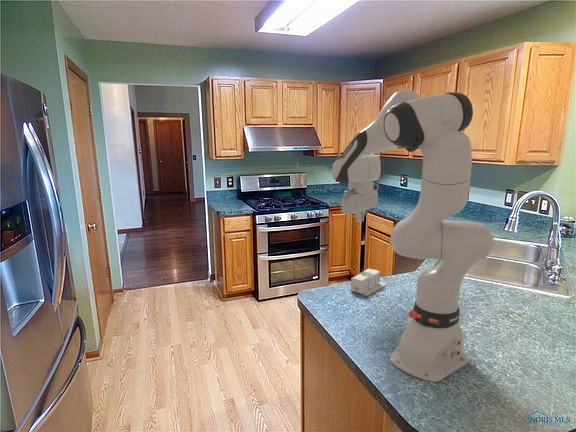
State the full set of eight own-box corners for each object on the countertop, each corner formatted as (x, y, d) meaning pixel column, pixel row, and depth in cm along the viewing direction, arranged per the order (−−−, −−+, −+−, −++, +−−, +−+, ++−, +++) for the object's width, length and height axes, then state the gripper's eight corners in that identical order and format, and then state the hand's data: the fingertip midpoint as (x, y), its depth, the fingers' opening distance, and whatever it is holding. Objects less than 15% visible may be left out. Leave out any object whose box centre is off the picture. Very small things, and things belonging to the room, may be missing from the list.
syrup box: (362, 294, 139) (380, 283, 149) (362, 281, 138) (380, 270, 148) (350, 290, 143) (368, 280, 153) (350, 277, 142) (368, 267, 152)
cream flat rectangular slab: (367, 295, 138) (367, 294, 138) (349, 289, 145) (349, 288, 145) (387, 284, 148) (387, 283, 148) (369, 279, 155) (369, 278, 155)
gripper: (350, 191, 125) (351, 228, 128) (380, 184, 139) (380, 217, 142) (337, 190, 130) (337, 225, 133) (367, 183, 143) (367, 216, 146)
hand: (360, 221), depth 137 cm, fingers closed
